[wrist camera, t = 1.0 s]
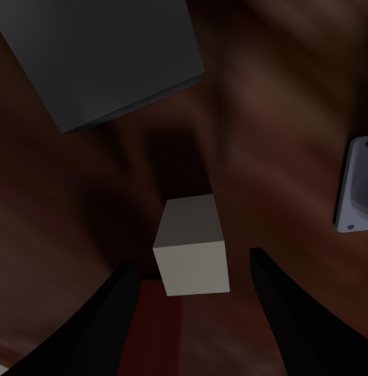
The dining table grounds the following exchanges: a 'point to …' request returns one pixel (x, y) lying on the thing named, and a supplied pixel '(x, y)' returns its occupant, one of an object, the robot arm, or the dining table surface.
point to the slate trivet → (102, 54)
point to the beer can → (154, 333)
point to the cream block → (191, 247)
